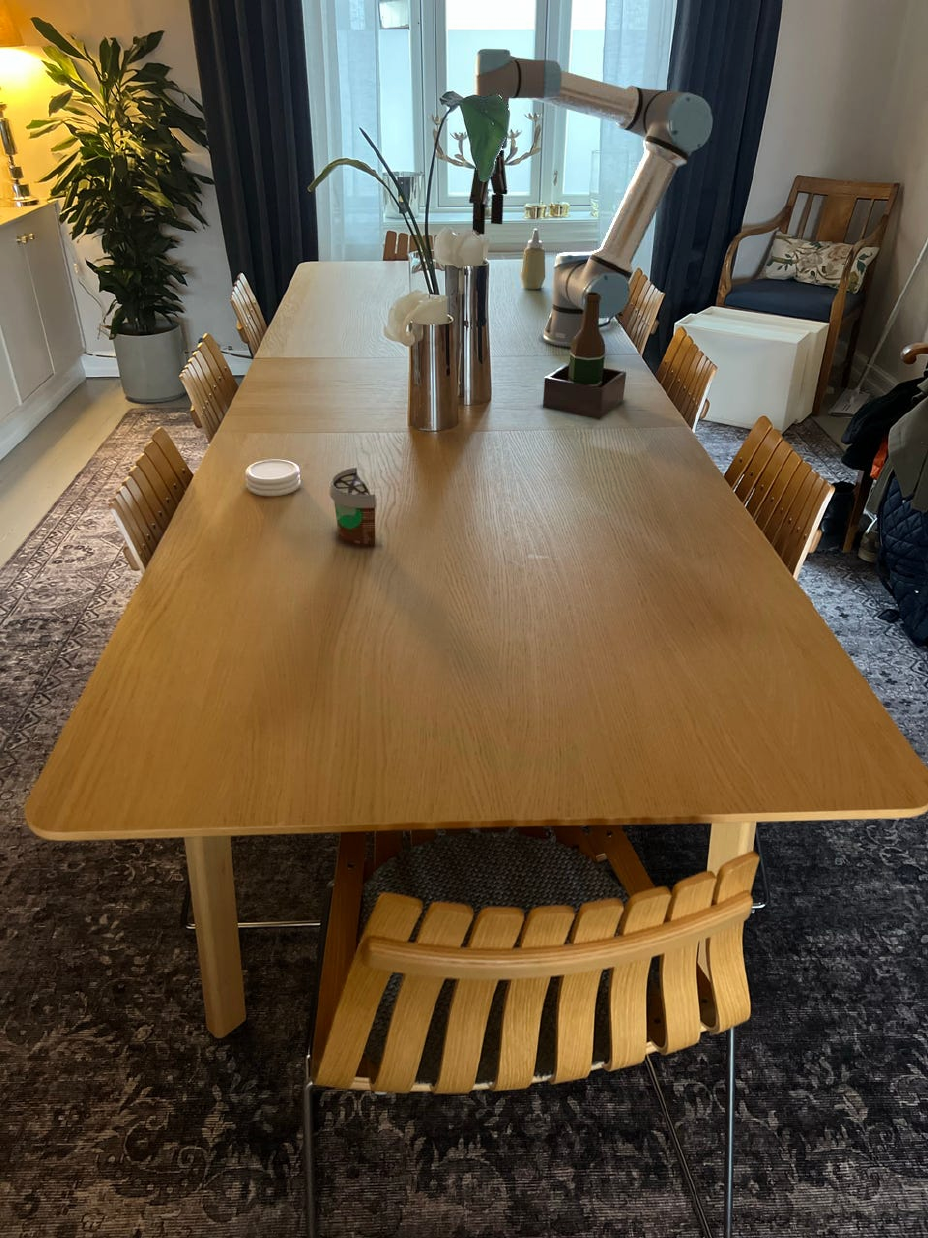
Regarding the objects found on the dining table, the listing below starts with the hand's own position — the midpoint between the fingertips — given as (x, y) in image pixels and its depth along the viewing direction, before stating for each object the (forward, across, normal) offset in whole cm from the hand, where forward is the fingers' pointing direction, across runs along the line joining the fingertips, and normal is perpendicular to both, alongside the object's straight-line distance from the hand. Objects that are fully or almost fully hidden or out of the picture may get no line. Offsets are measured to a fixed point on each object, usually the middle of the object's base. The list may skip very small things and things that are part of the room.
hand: (487, 228), depth 227 cm
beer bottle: (+32, +19, +31) cm, 48 cm away
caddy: (+33, +19, +31) cm, 49 cm away
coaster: (+33, +85, -13) cm, 92 cm away
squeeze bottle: (+33, -82, -11) cm, 89 cm away
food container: (+33, +98, +9) cm, 104 cm away
